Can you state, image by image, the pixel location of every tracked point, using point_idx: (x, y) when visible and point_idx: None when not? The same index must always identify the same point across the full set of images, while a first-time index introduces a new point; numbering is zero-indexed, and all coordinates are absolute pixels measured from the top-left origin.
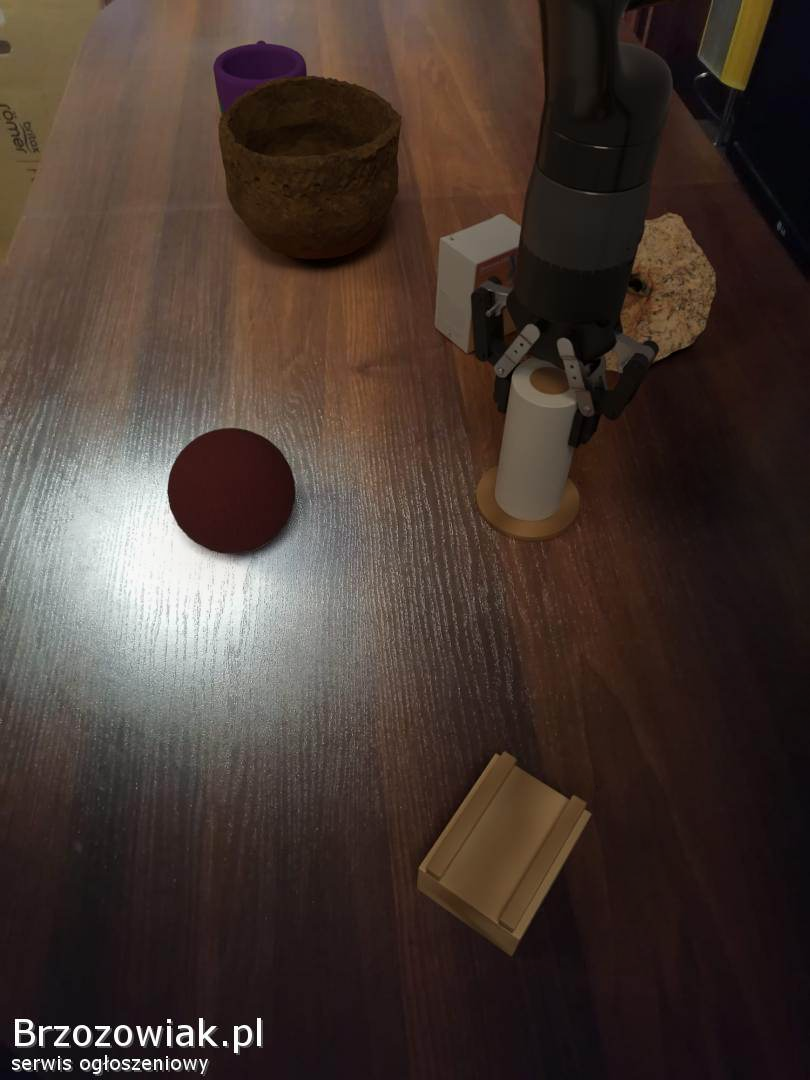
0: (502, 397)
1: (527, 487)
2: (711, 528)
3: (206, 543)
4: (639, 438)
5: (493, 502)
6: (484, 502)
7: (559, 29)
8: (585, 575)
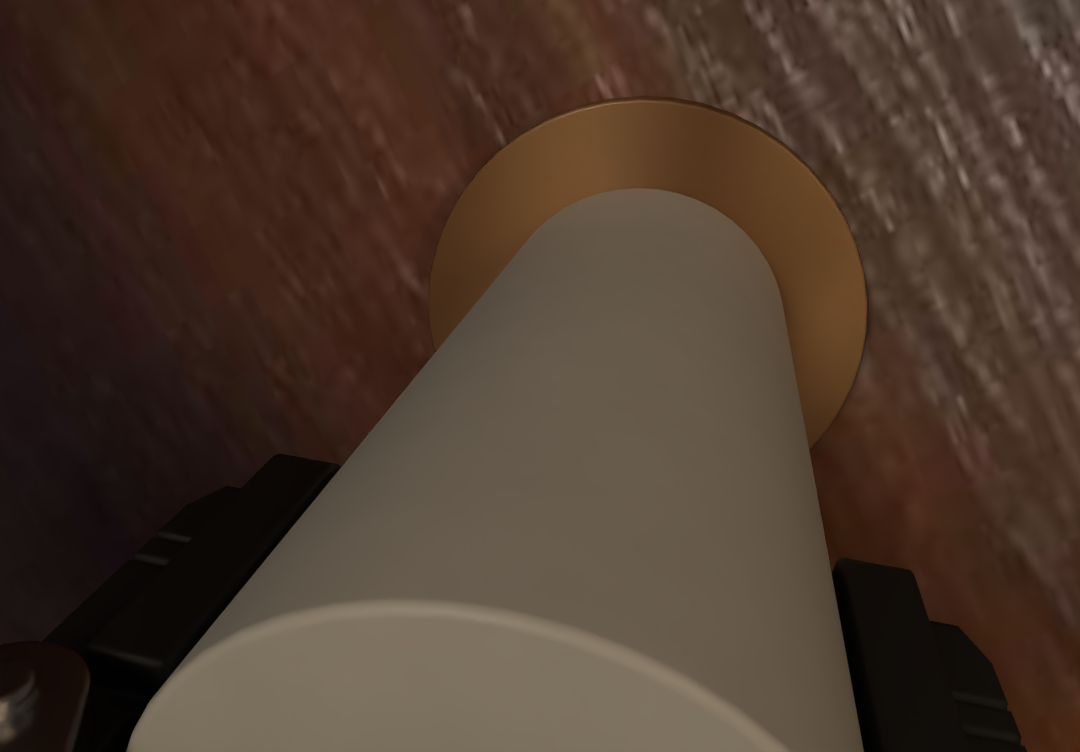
0: (907, 664)
1: (578, 242)
2: (68, 466)
3: None
4: None
5: (760, 228)
6: (799, 210)
7: None
8: (287, 68)
